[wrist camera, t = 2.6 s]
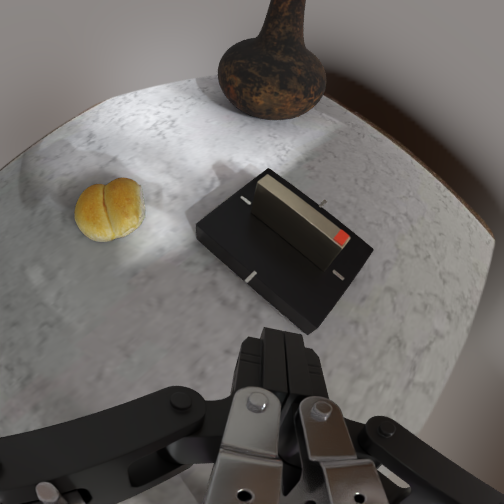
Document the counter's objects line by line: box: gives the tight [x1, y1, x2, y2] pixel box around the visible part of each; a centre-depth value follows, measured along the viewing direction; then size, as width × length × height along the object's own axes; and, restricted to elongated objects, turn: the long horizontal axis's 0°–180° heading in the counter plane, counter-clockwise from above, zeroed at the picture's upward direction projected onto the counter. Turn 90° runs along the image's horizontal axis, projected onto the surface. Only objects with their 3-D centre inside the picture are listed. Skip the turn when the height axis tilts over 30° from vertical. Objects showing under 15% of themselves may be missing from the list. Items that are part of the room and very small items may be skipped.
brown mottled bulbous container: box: [218, 0, 326, 120], centre depth 34 cm, size 18×18×28 cm
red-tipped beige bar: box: [251, 174, 350, 271], centre depth 28 cm, size 10×2×5 cm, turn 49°
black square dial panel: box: [196, 168, 374, 335], centre depth 32 cm, size 16×14×3 cm
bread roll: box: [75, 178, 145, 242], centre depth 31 cm, size 8×9×4 cm
